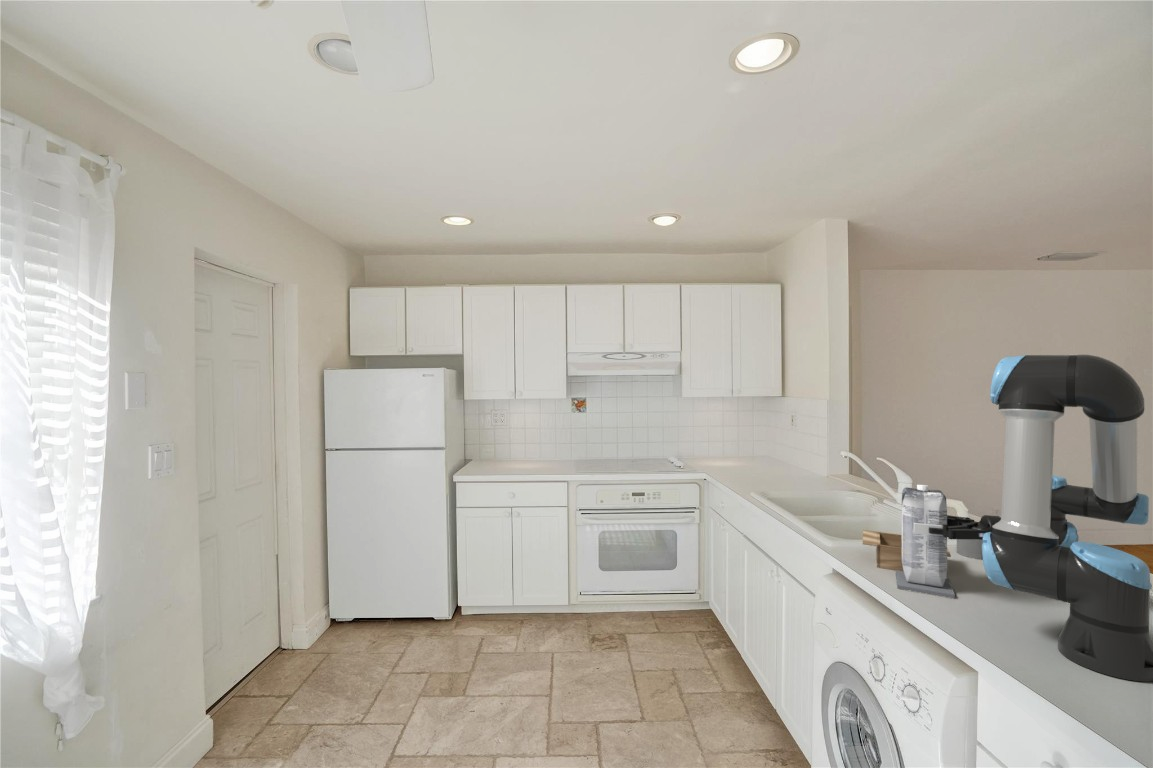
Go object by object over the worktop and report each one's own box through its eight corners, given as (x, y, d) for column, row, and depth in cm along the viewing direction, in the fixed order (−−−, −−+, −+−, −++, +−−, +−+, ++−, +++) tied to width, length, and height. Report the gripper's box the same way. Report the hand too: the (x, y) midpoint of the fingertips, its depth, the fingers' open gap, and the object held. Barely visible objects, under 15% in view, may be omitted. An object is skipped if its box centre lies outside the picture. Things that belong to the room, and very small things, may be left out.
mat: (954, 598, 140) (954, 594, 140) (897, 588, 146) (897, 585, 146) (948, 581, 151) (948, 578, 151) (895, 573, 158) (895, 569, 158)
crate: (950, 579, 153) (950, 555, 153) (862, 565, 164) (862, 542, 164) (943, 562, 167) (944, 540, 167) (862, 550, 178) (863, 529, 178)
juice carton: (948, 589, 142) (948, 490, 142) (902, 582, 147) (902, 486, 148) (944, 579, 150) (944, 485, 150) (900, 573, 155) (901, 481, 155)
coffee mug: (959, 556, 172) (959, 526, 172) (954, 547, 181) (954, 519, 181) (1011, 563, 166) (1011, 532, 166) (1003, 554, 175) (1003, 524, 175)
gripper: (1021, 558, 132) (919, 548, 139) (983, 531, 154) (897, 524, 161) (1022, 528, 131) (920, 520, 139) (984, 506, 153) (898, 500, 161)
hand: (908, 522), depth 150 cm, fingers open, 11 cm apart
